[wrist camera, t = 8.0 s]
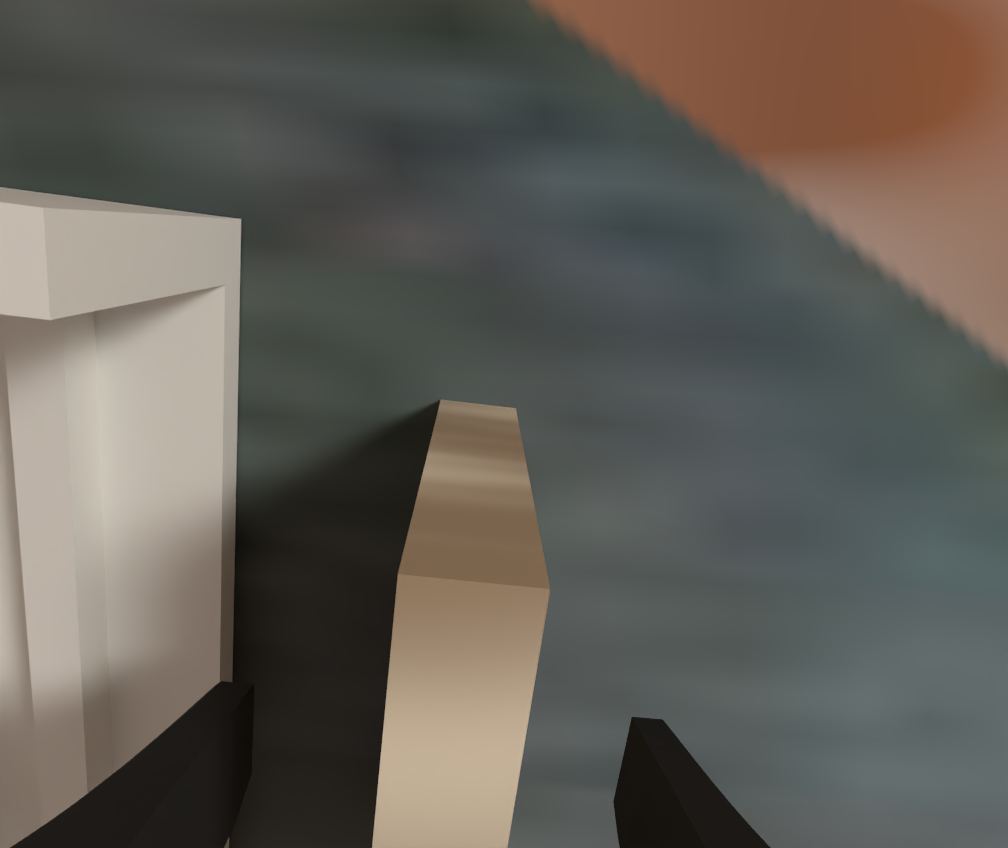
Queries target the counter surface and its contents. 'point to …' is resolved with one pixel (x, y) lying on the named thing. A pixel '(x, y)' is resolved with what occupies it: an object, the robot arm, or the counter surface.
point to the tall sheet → (463, 639)
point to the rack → (110, 485)
